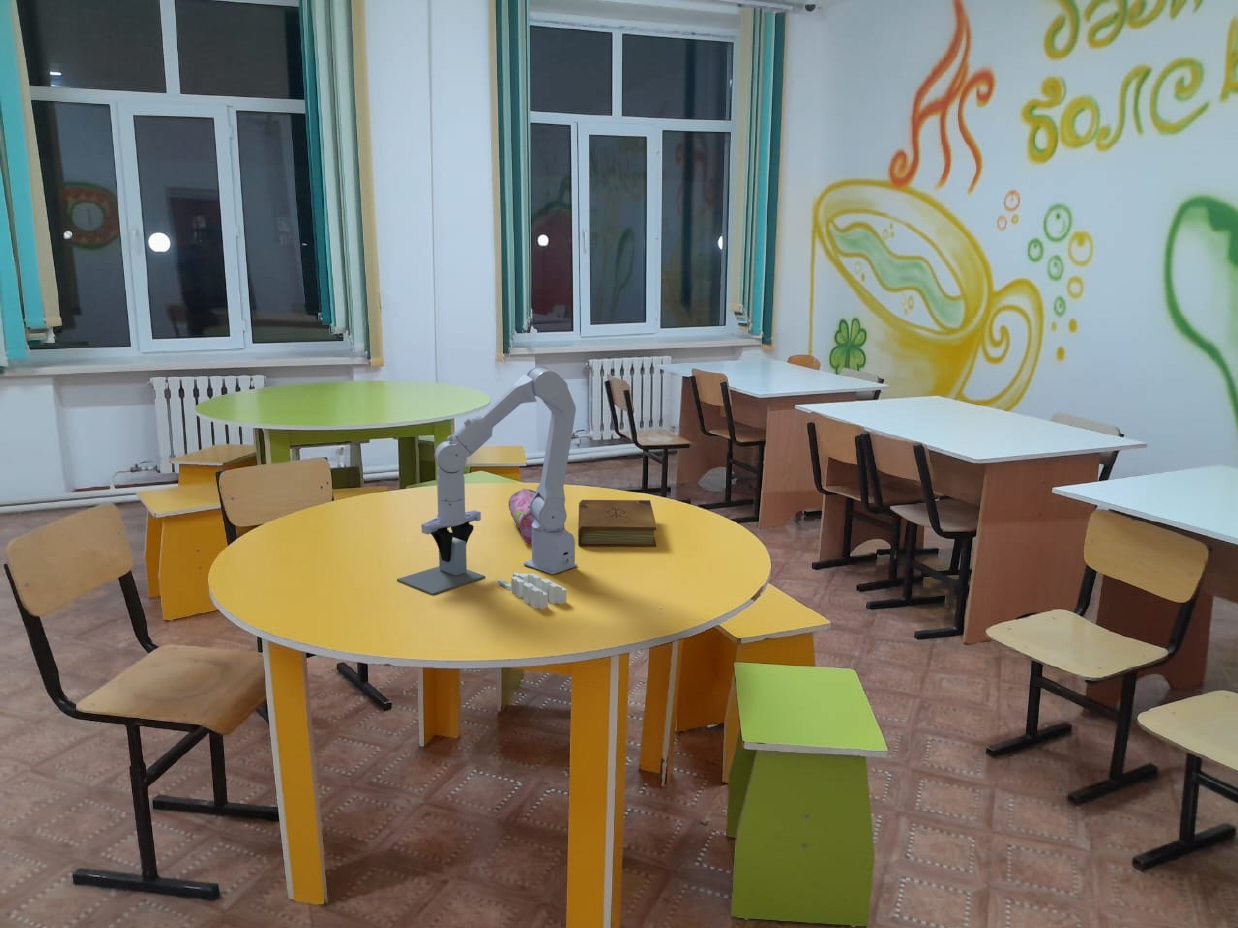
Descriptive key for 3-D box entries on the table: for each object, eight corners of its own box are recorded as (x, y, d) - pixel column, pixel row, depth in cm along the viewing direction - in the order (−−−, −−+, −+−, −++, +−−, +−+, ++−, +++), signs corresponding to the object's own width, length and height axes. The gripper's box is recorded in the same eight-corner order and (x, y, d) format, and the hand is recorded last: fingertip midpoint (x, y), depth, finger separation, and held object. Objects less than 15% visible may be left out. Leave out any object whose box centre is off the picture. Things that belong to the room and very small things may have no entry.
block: (466, 572, 195) (465, 540, 193) (455, 575, 193) (454, 543, 191) (450, 566, 198) (449, 535, 197) (439, 569, 196) (438, 538, 195)
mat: (485, 577, 194) (485, 575, 193) (432, 595, 183) (432, 593, 183) (449, 564, 201) (449, 562, 201) (396, 580, 191) (396, 578, 191)
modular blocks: (566, 604, 181) (566, 585, 180) (537, 611, 177) (538, 592, 176) (513, 576, 196) (513, 559, 195) (486, 582, 192) (485, 565, 191)
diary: (578, 520, 238) (579, 499, 236) (649, 521, 238) (650, 500, 237) (578, 548, 215) (578, 525, 214) (656, 548, 216) (656, 525, 215)
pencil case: (556, 544, 217) (556, 508, 215) (518, 546, 215) (518, 509, 213) (542, 518, 238) (542, 485, 235) (508, 520, 235) (507, 487, 233)
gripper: (465, 488, 200) (466, 546, 203) (411, 500, 189) (413, 562, 192) (486, 494, 195) (487, 553, 198) (432, 507, 185) (434, 570, 188)
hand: (452, 558), depth 195 cm, fingers closed on block, 3 cm apart
